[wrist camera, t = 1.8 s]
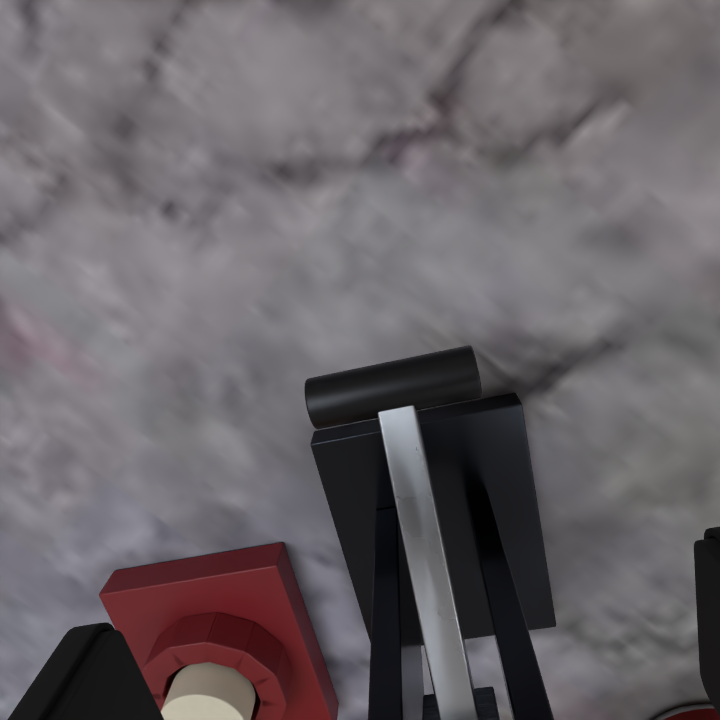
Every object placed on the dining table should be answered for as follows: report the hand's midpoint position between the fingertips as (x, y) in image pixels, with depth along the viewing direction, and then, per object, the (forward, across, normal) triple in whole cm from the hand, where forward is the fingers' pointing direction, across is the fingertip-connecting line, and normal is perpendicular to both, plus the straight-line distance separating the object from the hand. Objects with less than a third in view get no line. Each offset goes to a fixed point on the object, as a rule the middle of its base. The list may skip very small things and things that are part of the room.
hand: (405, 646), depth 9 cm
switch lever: (+7, 0, +5) cm, 9 cm away
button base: (+15, +12, +14) cm, 24 cm away
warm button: (+12, +12, +14) cm, 22 cm away
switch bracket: (+15, 0, +9) cm, 18 cm away
